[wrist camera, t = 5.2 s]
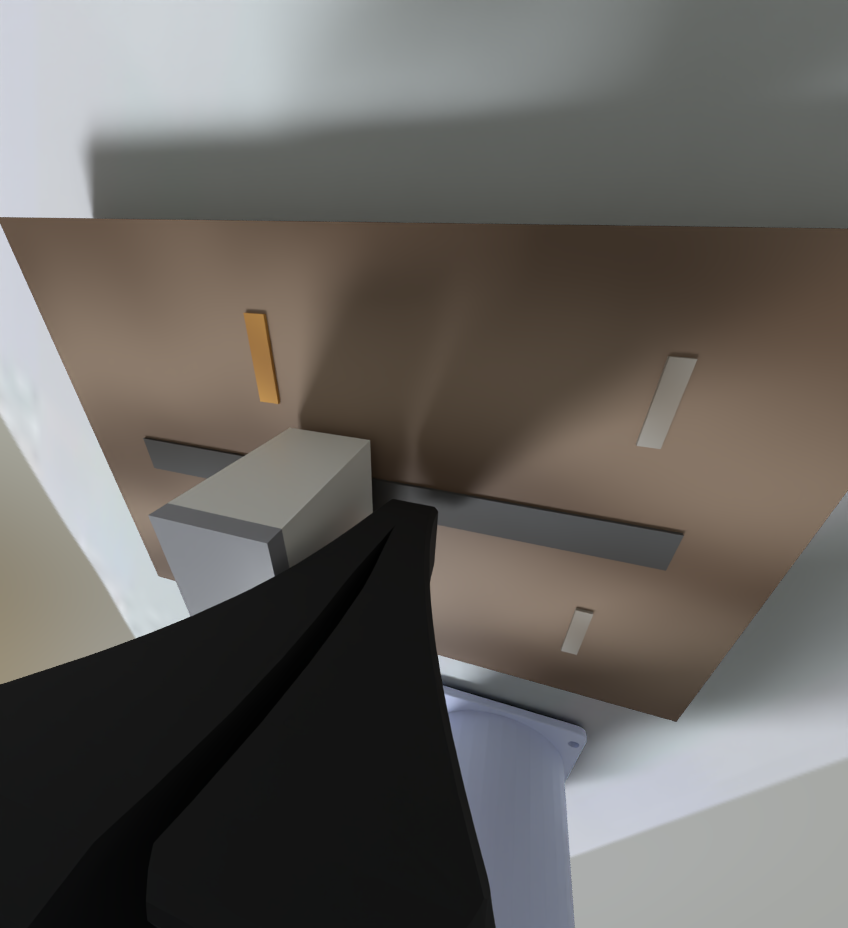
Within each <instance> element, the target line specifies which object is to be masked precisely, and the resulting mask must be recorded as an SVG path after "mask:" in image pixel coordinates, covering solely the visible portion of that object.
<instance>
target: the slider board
mask: <svg viewBox="0 0 848 928" xmlns="http://www.w3.org/2000/svg"><path fill="white" fill-rule="evenodd" d="M0 224H1V226H2V228H3V231H4V233H5V235H6V237H7V240H8V242H9V244H10V246H11V248H12V251H13V253H14V255H15V257H16V260H17V262H18V264H19V266H20V268H21V271H22V273H23V275H24V277H25V280H26V282H27V284H28V286H29V289H30V291H31V293H32V295H33V297H34V300H35V302H36V304H37V306H38V309H39V311H40V313H41V315H42V317H43V320H44V322H45V324H46V326H47V329H48V331H49V333H50V335H51V338H52V340H53V342H54V344H55V346H56V349H57V351H58V353H59V355H60V358H61V360H62V362H63V364H64V366H65V369H66V371H67V373H68V375H69V378H70V380H71V382H72V384H73V387H74V389H75V391H76V393H77V395H78V398H79V400H80V402H81V404H82V407H83V409H84V411H85V413H86V415H87V418H88V420H89V422H90V424H91V427H92V429H93V431H94V433H95V436H96V438H97V440H98V442H99V444H100V447H101V449H102V451H103V453H104V456H105V458H106V460H107V462H108V464H109V467H110V469H111V471H112V473H113V476H114V478H115V480H116V482H117V485H118V487H119V489H120V491H121V493H122V496H123V498H124V500H125V502H126V505H127V507H128V509H129V511H130V513H131V516H132V518H133V520H134V522H135V525H136V527H137V529H138V531H139V534H140V536H141V538H142V540H143V542H144V545H145V547H146V549H147V551H148V554H149V556H150V558H151V560H152V562H153V565H154V567H155V569H156V571H157V574H158V576H160V577H163V578H167V579H170V580H174V581H176V580H175V578H174V576H173V573H172V571H171V569H170V566H169V564H168V561H167V559H166V557H165V554H164V552H163V550H162V547H161V545H160V542H159V540H158V538H157V535H156V533H155V531H154V528H153V526H152V523H151V521H150V519H149V516H148V515H149V514H151V513H152V512H154V511H156V510H157V509H159V508H161V507H162V506H164V505H165V504H167V503H169V502H170V501H172V500H173V499H175V498H177V497H178V496H180V495H182V494H183V493H185V492H186V491H188V490H190V489H191V488H193V487H195V486H196V485H198V484H199V483H201V482H203V481H204V480H206V479H208V478H209V477H211V476H212V475H214V474H216V473H217V472H219V471H221V470H222V469H224V468H225V467H227V466H229V465H230V464H232V463H234V462H235V461H237V460H238V459H240V458H242V457H243V456H245V455H247V454H248V453H250V452H251V451H253V450H255V449H256V448H258V447H260V446H261V445H263V444H264V443H266V442H268V441H269V440H271V439H273V438H274V437H276V436H277V435H279V434H281V433H282V432H284V431H286V430H287V429H289V428H295V429H301V430H308V431H314V432H321V433H327V434H334V435H340V436H347V437H353V438H360V439H366V440H370V450H371V477H372V504H373V512H374V511H376V510H377V509H378V508H380V507H381V506H382V505H384V504H385V503H387V502H388V501H390V500H391V499H397V500H402V501H407V502H412V503H418V504H423V505H428V506H433V507H435V508H436V509H437V510H438V524H437V536H436V549H435V562H434V567H433V572H432V576H431V581H430V593H431V606H432V617H433V626H434V634H435V641H436V648H437V655H441V656H444V657H448V658H451V659H455V660H458V661H462V662H466V663H469V664H473V665H476V666H480V667H483V668H487V669H490V670H494V671H498V672H501V673H505V674H508V675H512V676H515V677H519V678H522V679H526V680H530V681H533V682H537V683H540V684H544V685H547V686H551V687H554V688H558V689H562V690H565V691H569V692H572V693H576V694H579V695H583V696H586V697H590V698H594V699H597V700H601V701H604V702H608V703H611V704H615V705H618V706H622V707H626V708H629V709H633V710H636V711H640V712H643V713H647V714H650V715H654V716H657V717H661V718H665V719H668V720H672V721H675V722H677V720H678V719H679V717H680V716H681V715H682V713H683V712H684V711H685V709H686V708H687V707H688V705H689V704H690V703H691V701H692V700H693V699H694V697H695V696H696V695H697V693H698V692H699V691H700V689H701V688H702V686H703V685H704V684H705V682H706V681H707V680H708V678H709V677H710V676H711V674H712V673H713V672H714V670H715V669H716V668H717V666H718V665H719V664H720V662H721V661H722V659H723V658H724V657H725V655H726V654H727V653H728V651H729V650H730V649H731V647H732V646H733V645H734V643H735V642H736V641H737V639H738V638H739V637H740V635H741V634H742V633H743V631H744V630H745V628H746V627H747V626H748V624H749V623H750V622H751V620H752V619H753V618H754V616H755V615H756V614H757V612H758V611H759V610H760V608H761V607H762V606H763V604H764V603H765V601H766V600H767V599H768V597H769V596H770V595H771V593H772V592H773V591H774V589H775V588H776V587H777V585H778V584H779V583H780V581H781V580H782V579H783V577H784V576H785V575H786V573H787V572H788V570H789V569H790V568H791V566H792V565H793V564H794V562H795V561H796V560H797V558H798V557H799V556H800V554H801V553H802V552H803V550H804V549H805V548H806V546H807V545H808V544H809V542H810V541H811V539H812V538H813V537H814V535H815V534H816V533H817V531H818V530H819V529H820V527H821V526H822V525H823V523H824V522H825V521H826V519H827V518H828V517H829V515H830V514H831V512H832V511H833V510H834V508H835V507H836V506H837V504H838V503H839V502H840V500H841V499H842V498H843V496H844V495H845V494H846V492H847V491H848V229H840V228H765V227H690V226H615V225H540V224H465V223H390V222H315V221H241V220H166V219H91V218H16V217H0Z"/></svg>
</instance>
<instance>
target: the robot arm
mask: <svg viewBox="0 0 848 928" xmlns="http://www.w3.org/2000/svg"><path fill="white" fill-rule="evenodd" d="M437 524H438V510H437V509H436V508H435V507H433V506H428V505H423V504H418V503H412V502H407V501H402V500H397V499H391V500H390V501H388V502H387V503H385V504H384V505H382V506H381V507H380V508H378V509H377V510H376V511H374V512H373V513H371V514H370V515H369V516H367V517H366V518H365V519H363V520H362V521H361V522H359V523H358V524H356V525H355V526H354V527H352V528H351V529H349V530H348V531H346V532H345V533H344V534H342V535H341V536H339V537H338V538H336V539H335V540H333V541H332V542H330V543H329V544H327V545H326V546H324V547H323V548H321V549H320V550H318V551H316V552H315V553H313V554H312V555H310V556H309V557H307V558H305V559H304V560H302V561H301V562H299V563H297V564H296V565H294V566H292V567H290V568H289V569H287V570H285V571H283V572H282V573H280V574H278V575H276V576H274V577H272V578H271V579H269V580H267V581H265V582H263V583H261V584H259V585H257V586H255V587H253V588H251V589H249V590H247V591H245V592H243V593H241V594H239V595H237V596H235V597H233V598H230V599H228V600H226V601H224V602H222V603H219V604H217V605H215V606H213V607H211V608H208V609H206V610H204V611H202V612H199V613H197V614H195V615H193V616H191V617H188V618H186V619H184V620H181V621H179V622H176V623H174V624H171V625H169V626H166V627H164V628H162V629H159V630H157V631H154V632H152V633H149V634H146V635H144V636H141V637H138V638H136V639H133V640H130V641H128V642H125V643H123V644H120V645H117V646H114V647H112V648H109V649H106V650H103V651H100V652H98V653H95V654H92V655H89V656H86V657H83V658H80V659H77V660H74V661H71V662H68V663H65V664H62V665H59V666H56V667H53V668H50V669H47V670H44V671H41V672H38V673H34V674H32V675H28V676H26V677H22V678H19V679H16V680H13V681H10V682H7V683H4V684H0V928H575V925H574V910H573V896H572V881H571V867H570V853H569V838H568V824H567V810H566V795H565V782H566V780H567V778H568V776H569V774H570V772H571V770H572V769H573V767H574V765H575V763H576V761H577V759H578V757H579V755H580V754H581V752H582V750H583V748H584V746H585V744H586V742H587V735H586V731H585V730H584V729H583V728H581V727H579V726H577V725H573V724H570V723H567V722H563V721H560V720H557V719H553V718H550V717H547V716H543V715H540V714H537V713H533V712H530V711H527V710H523V709H520V708H517V707H513V706H510V705H507V704H503V703H500V702H497V701H493V700H490V699H486V698H483V697H480V696H476V695H473V694H470V693H466V692H463V691H460V690H456V689H453V688H450V687H446V686H443V684H442V679H441V674H440V668H439V661H438V655H437V648H436V641H435V634H434V626H433V617H432V606H431V593H430V581H431V576H432V572H433V567H434V562H435V549H436V536H437Z"/></svg>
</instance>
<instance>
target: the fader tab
mask: <svg viewBox="0 0 848 928" xmlns="http://www.w3.org/2000/svg"><path fill="white" fill-rule="evenodd" d="M371 513H373V504H372V477H371V450H370V440H366V439H360V438H353V437H347V436H340V435H334V434H327V433H321V432H314V431H308V430H301V429H295V428H289V429H287V430H286V431H284V432H282V433H281V434H279V435H277V436H276V437H274V438H273V439H271V440H269V441H268V442H266V443H264V444H263V445H261V446H260V447H258V448H256V449H255V450H253V451H251V452H250V453H248V454H247V455H245V456H243V457H242V458H240V459H238V460H237V461H235V462H234V463H232V464H230V465H229V466H227V467H225V468H224V469H222V470H221V471H219V472H217V473H216V474H214V475H212V476H211V477H209V478H208V479H206V480H204V481H203V482H201V483H199V484H198V485H196V486H195V487H193V488H191V489H190V490H188V491H186V492H185V493H183V494H182V495H180V496H178V497H177V498H175V499H173V500H172V501H170V502H169V503H167V504H165V505H164V506H162V507H161V508H159V509H157V510H156V511H154V512H152V513H151V514H149V515H148V516H149V519H150V521H151V523H152V526H153V528H154V531H155V533H156V535H157V538H158V540H159V542H160V545H161V547H162V550H163V552H164V554H165V557H166V559H167V561H168V564H169V566H170V569H171V571H172V573H173V576H174V578H175V580H176V583H177V585H178V588H179V590H180V592H181V595H182V597H183V600H184V602H185V604H186V607H187V609H188V611H189V614H190V616H193V615H195V614H197V613H199V612H202V611H204V610H206V609H208V608H211V607H213V606H215V605H217V604H219V603H222V602H224V601H226V600H228V599H230V598H233V597H235V596H237V595H239V594H241V593H243V592H245V591H247V590H249V589H251V588H253V587H255V586H257V585H259V584H261V583H263V582H265V581H267V580H269V579H271V578H272V577H274V576H276V575H278V574H280V573H282V572H283V571H285V570H287V569H289V568H290V567H292V566H294V565H296V564H297V563H299V562H301V561H302V560H304V559H305V558H307V557H309V556H310V555H312V554H313V553H315V552H316V551H318V550H320V549H321V548H323V547H324V546H326V545H327V544H329V543H330V542H332V541H333V540H335V539H336V538H338V537H339V536H341V535H342V534H344V533H345V532H346V531H348V530H349V529H351V528H352V527H354V526H355V525H356V524H358V523H359V522H361V521H362V520H363V519H365V518H366V517H367V516H369V515H370V514H371Z"/></svg>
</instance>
